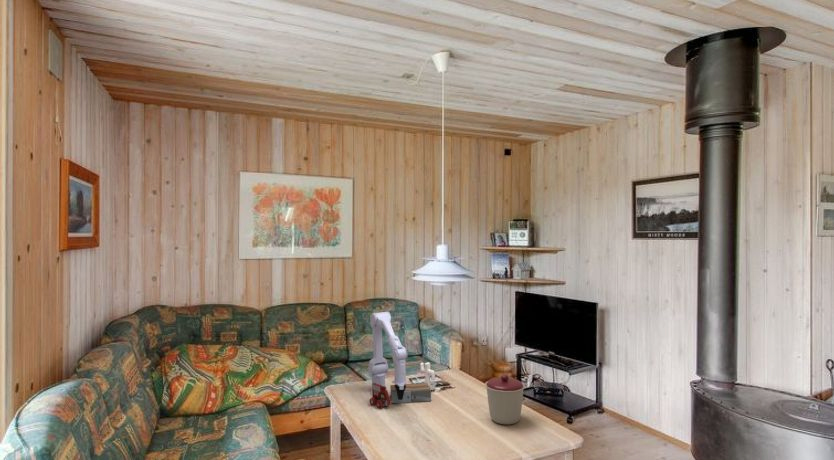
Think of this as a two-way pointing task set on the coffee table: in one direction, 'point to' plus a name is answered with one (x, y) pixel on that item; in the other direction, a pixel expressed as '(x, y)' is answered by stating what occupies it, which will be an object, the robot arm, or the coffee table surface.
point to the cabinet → (416, 391)
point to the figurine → (428, 374)
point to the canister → (505, 399)
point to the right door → (405, 397)
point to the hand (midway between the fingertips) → (400, 399)
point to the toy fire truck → (379, 396)
